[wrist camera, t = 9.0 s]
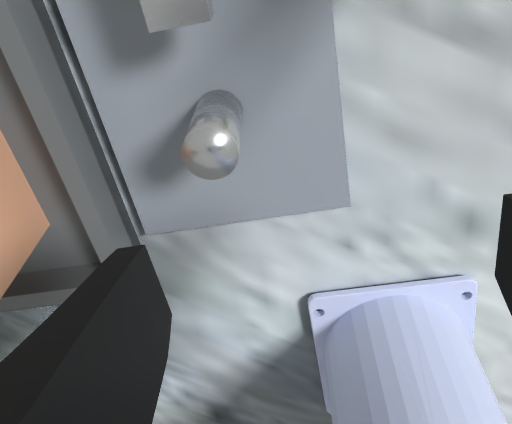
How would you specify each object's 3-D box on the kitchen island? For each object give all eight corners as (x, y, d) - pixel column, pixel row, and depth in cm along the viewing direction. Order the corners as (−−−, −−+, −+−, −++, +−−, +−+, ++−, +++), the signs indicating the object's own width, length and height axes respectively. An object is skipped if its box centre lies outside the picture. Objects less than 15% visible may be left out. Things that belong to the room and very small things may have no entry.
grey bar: (247, 130, 18) (243, 175, 16) (202, 138, 19) (189, 183, 16) (190, -139, 14) (169, -148, 11) (130, -125, 14) (94, -130, 11)
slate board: (348, 198, 21) (350, 206, 20) (148, 227, 22) (146, 235, 21) (307, -230, 13) (309, -235, 13) (5, -153, 14) (-5, -155, 14)
